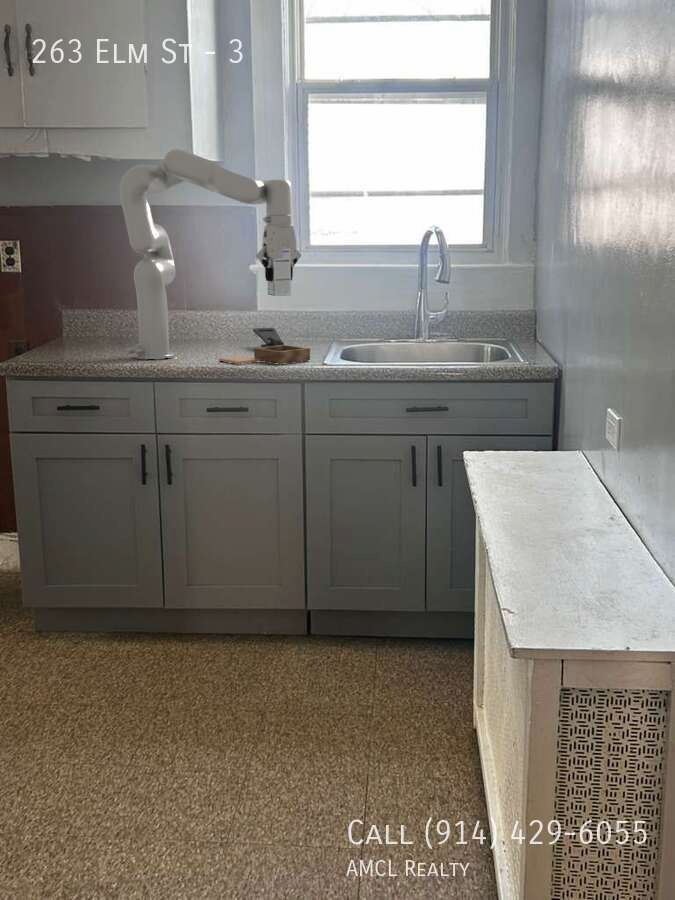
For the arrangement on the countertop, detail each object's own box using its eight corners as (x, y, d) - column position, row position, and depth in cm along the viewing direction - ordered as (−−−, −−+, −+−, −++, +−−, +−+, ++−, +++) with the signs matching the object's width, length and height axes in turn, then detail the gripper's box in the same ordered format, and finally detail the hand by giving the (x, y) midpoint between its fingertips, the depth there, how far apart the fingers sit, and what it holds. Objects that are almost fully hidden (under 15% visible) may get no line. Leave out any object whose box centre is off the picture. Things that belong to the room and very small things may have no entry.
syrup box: (291, 295, 325) (291, 248, 321) (274, 296, 322) (273, 248, 319) (284, 294, 330) (284, 247, 326) (266, 294, 327) (266, 247, 324)
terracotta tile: (239, 364, 322) (239, 361, 322) (218, 361, 329) (218, 358, 329) (263, 361, 329) (263, 358, 329) (243, 358, 336) (243, 355, 336)
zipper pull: (276, 327, 366) (292, 335, 342) (276, 346, 367) (292, 355, 343) (250, 328, 363) (265, 336, 340) (251, 347, 365) (265, 356, 341)
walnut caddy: (280, 365, 322) (280, 352, 321) (254, 361, 331) (254, 348, 330) (310, 361, 330) (309, 348, 330) (283, 357, 339) (283, 344, 338)
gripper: (260, 221, 313) (261, 282, 317) (309, 221, 323) (309, 280, 327) (248, 221, 319) (248, 280, 323) (296, 221, 329) (296, 279, 333)
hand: (279, 280), depth 325 cm, fingers closed on syrup box, 6 cm apart
